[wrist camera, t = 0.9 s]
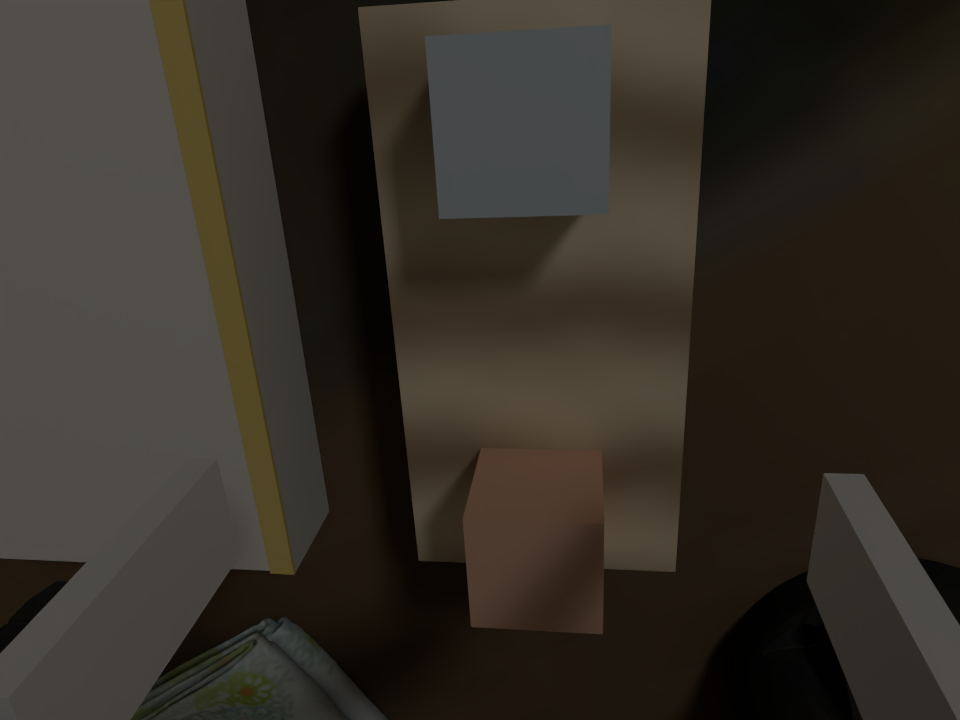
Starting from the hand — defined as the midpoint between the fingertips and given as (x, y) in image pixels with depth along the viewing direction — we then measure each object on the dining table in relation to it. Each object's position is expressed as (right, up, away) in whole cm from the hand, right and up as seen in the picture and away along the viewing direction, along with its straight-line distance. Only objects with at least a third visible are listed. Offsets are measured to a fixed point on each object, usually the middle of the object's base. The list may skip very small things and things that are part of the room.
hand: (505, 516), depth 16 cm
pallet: (+2, +7, +17) cm, 19 cm away
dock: (-17, +7, +20) cm, 27 cm away
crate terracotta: (+2, -2, +14) cm, 14 cm away
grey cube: (+1, +12, +8) cm, 14 cm away
